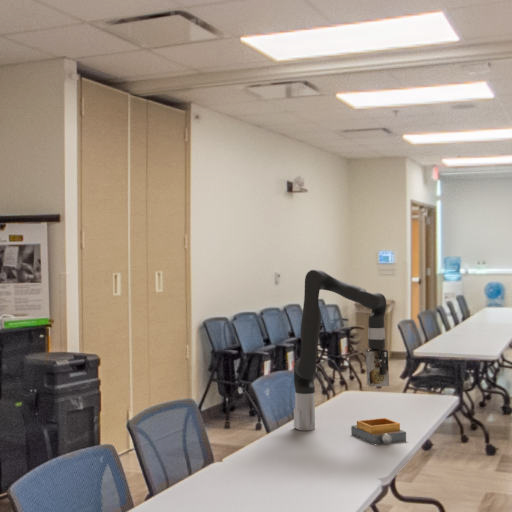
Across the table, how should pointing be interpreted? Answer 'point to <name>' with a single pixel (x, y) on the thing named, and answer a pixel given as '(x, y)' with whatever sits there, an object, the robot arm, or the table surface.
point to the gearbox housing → (379, 431)
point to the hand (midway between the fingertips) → (377, 373)
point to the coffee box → (375, 369)
